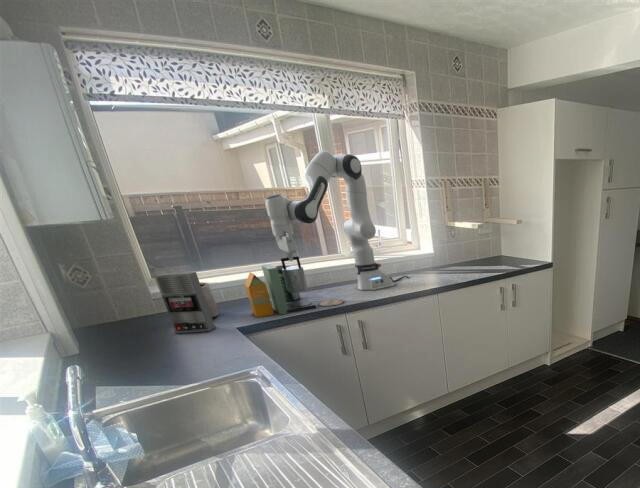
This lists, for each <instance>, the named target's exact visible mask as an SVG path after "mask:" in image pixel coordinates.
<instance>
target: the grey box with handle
mask: <svg viewBox="0 0 640 488" xmlns="http://www.w3.org/2000/svg"><path fill="white" fill-rule="evenodd" d="M293 261H296V263H297V265H293V266H290V267H286V266H287V265H286V263H285V262H290V261H289V259H288V257H281V258H280V262H281V265H283V269H282V272H283V275H284V279H285V283H286V287H287V290H288V292H299V293H300V292H304V291H307V290H309V287H308V283H307V278H306V274H305V271H304V270H305V269H304V267H303V266H301V261H300V257H299V256H298V255H295V256H293Z"/></svg>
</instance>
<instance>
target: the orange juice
mask: <svg viewBox="0 0 640 488" xmlns="http://www.w3.org/2000/svg"><path fill="white" fill-rule="evenodd" d="M244 287H245V291H246V294H247V299H248V301H249V304H250V308H251V311H252V314H253V315H254V316H255V317H256V318H261V317H266V316H271V315H275V313H274V309H273V305H272V302H271V298H270V295H269V291H268V287H267V284H266V282H264V281H263V280H261V279H260V278H259V277H258V276H257V275H255V274H254V273H253V272H249V273H248V276H247V278H246V281H245V282H244Z"/></svg>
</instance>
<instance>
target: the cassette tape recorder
mask: <svg viewBox="0 0 640 488" xmlns="http://www.w3.org/2000/svg"><path fill="white" fill-rule="evenodd" d="M153 278H154V281H155V283H156V284H157V285H156V286H157V287H158V288H157V289H158V291H159V294H160V295H161V298H162V300H163V303H164V306H165V308H166V311H167V313H168V315H169V318H170V321H171V323H172V325H173V328H174V334H177V335H179V334H188V333H189V334H190V333H201V332H203V333H204V332H205V333H206V332H209V333H210V332H211V331H212V330H214V329H216V324H215V322H214V318H213V319H212V317H211V314H210V311H209V308H208V305H207V302H206V299H205V296H204V294H203V291H202V288H201V285H200V283H201V281H200V280H199V277H198V274H197V272H196V271H185V272H183V271H182V272H165V273H159V274H156V275H154V276H153Z"/></svg>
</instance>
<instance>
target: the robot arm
mask: <svg viewBox="0 0 640 488" xmlns="http://www.w3.org/2000/svg"><path fill="white" fill-rule="evenodd" d="M304 177H305V180H306V182H307V183H308V184H309V185H310V186H311V188H310V189H309V192H308V194H307V197H306V198H304V199H303V200H292V199H290V198H288V197H285V196H284V195H283V194H281V193H275V194H270V195H267V196H266V197H265V208H266V212H267V217H269V220H270V227H271V233H272V235H273V236H274V238H275V242H276V244H277V247H278V249H279V250H281V251H283V252H284V254H285V258H287V257H288V259H289V261H288V262H293V261H294V260H293V257H294V256H293V255H294V254H295V253H297V247H296V243H295V240H294V237H293V236H292V235H294V230H293V225H292V223H304V224H312V223H314V222H316V221H317V219H318V216H319V210H320V206H321V203H322V202H323V199H324V197H325V195H326V193H327V190H328V186H329V182H330V180H331V179H332V178H338V179H339V178H340V179H343V180H344V183H345V199H346V207H347V209H348V211H349V213H350V219H348V220H346V221H345V222H344V224H343V232H344V233H345V235H346V236H347V239H348V241H349V244H350V246H351V250H352V253H353V258H354V263H355V264H354V267H355V268H354V269H355V273H356V276H357V285H356V286H357V287H356V289H357V290H360V291H370V290H372V291H376V290H380V289H386V288H389V287H394V286H396V283H395V282H398V281H400V280H402V279H404V278H407V279H410V277H409V276H408V275H404V276H401V277H398V278H397V279H395V280H393V277H391V276H390V275H389V274H388V273H387V272H385V271H383V270H382V269H381V267H382V264H381V263H378V262H377V263H376V261H375V256H374V255H375V254H374V249H373V248H372V246H371V245H370V241H369V240H371V239H373V238H374V237H375V236H376V233H377V230H376V229H377V228H376V226H375V224H374V223H373V221H372V219H371V215H370V211H369V203H368V194H367V193H368V192H367V185H366V179H365V176H364V174H363V173H362V164H361V161H360V159H359V158H358V156H356V155H354V154H350V153H347V154H345V153H339V154H332V153H331V152H329V151H328V150H320V151H318V153H316V154H315V156H314V157H313V158H312V159H311V160H310V162H309V163H308V164H307V167H306V168H305V171H304Z"/></svg>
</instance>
